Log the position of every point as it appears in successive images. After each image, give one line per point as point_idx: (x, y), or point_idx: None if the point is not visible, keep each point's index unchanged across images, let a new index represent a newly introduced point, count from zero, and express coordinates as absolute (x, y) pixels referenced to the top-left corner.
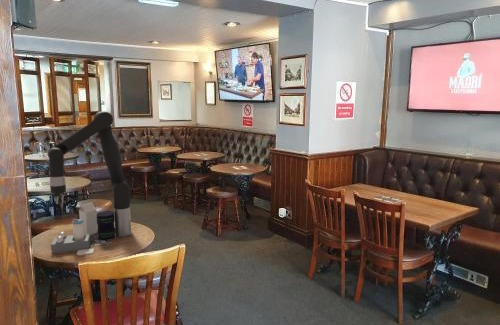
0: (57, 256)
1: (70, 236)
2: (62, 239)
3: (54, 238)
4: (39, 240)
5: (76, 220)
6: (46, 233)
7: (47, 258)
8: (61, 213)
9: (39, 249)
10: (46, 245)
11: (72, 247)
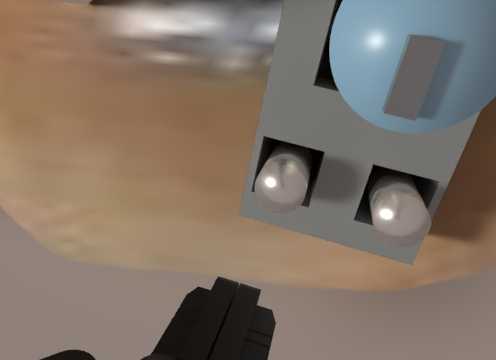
0: (487, 206)
1: (295, 110)
2: (416, 194)
3: (276, 224)
4: (121, 253)
5: (435, 69)
6: (15, 208)
7: (477, 261)
8: (254, 310)
9: (276, 274)
10: (226, 234)
11: None
